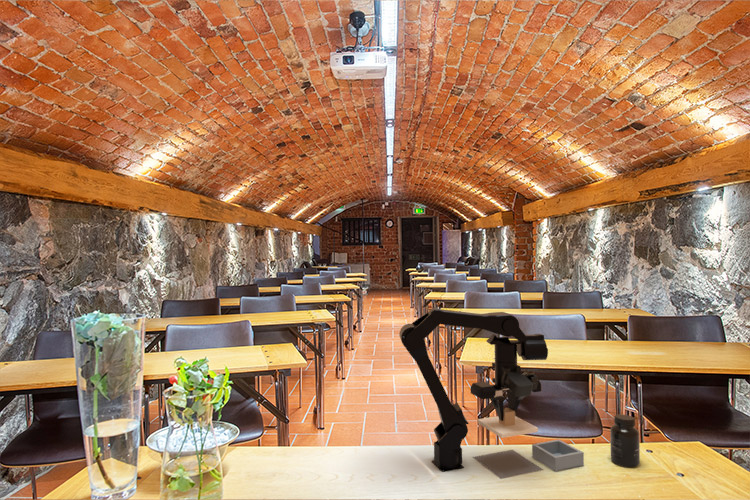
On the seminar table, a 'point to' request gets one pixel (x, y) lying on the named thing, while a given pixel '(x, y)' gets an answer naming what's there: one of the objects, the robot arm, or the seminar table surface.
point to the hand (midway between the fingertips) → (506, 419)
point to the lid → (507, 425)
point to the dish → (557, 455)
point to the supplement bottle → (625, 441)
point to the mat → (507, 464)
